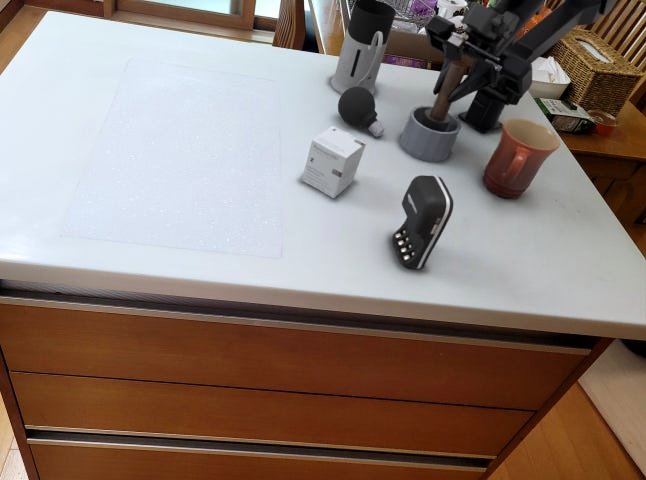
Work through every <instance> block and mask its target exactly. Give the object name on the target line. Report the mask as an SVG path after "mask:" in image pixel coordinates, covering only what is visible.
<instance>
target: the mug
mask: <svg viewBox="0 0 646 480" xmlns="http://www.w3.org/2000/svg"><path fill="white" fill-rule="evenodd" d="M502 124H503V127H502V130H501V135H500V139H499V142H498V144H497V146H496V148H495V149H494V150H493V153H492V154H491V156H490V158H489V160H488V161H487V164H486V165H485V168H484V171H483V173H482V178H481V179H482V183H483V185H484V186H485V188H486V189H487V190H488V191H489V192H490V193H492V194H494V195H495V196H498V197H501V198H504V199H514V198H519V197H521V196H522V195H523V194H524V193H525V192H526V191H527V189H528V188H529V187H531V184H532V183H533V181H534V179H535V177H536V175H538V172H539V170H540V168H541V167H542V165H543V164H544V162H545V161H546V160H547V159H548V158H549V157H550V156H551V155H552V154H553V153H554V152H555V151H557V150H558V149H559V147H560V145H561V141H560V139H559V137H558V136H557V135H556V133H555V132H554V131H552V130H551V129H549V128H548V127H547V126H546V125H545V126H544V125H543V124H541V123H539V122H536V121H533V120H530V119H527V118H520V117H514V118H508V119H507V120H505V121H504V122H503V123H502Z"/></svg>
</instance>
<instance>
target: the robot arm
mask: <svg viewBox="0 0 646 480" xmlns="http://www.w3.org/2000/svg"><path fill="white" fill-rule="evenodd" d="M616 3H617V0H562V2H561V3H560V4H559V5H558V6H557V7H556V8H554V9H553V10H552V11H550V12H549V13H548V14H547V15H546V16H545V17H543V18H542V19H541V20H540V21H539V22H537V23H536V24H535V25H534V26H533V27H531V28H530V29H529V30H527V31H526V32H525V33H524V34H523V35H521V36H520V37H519V38H518V35H519V34H520V33H521V32H522V31H523V29H524V28H525V27H526V26H527V25H528V24H529V22H530V21H531V20H532V19H533V17H534V16H539V15H540V14H541V12H542V10H543V5H544V4H545V0H498V1H497V2H496V3H495V4H494V6H492V5H489V6H485V5H483V4H482V3H479V2H477V1H473V2H472V3H471V4H470V6H469V8H468V9H467V11H466V13H465V14H464V16H463V18H462V19H461V21H460V23H461V24H462V25H463V24H464V25H465V26H467V27H466V28H465V30H464V33H465V35H466V36H467V38H465V37H464V36H462V35H460V34H459V33H458V32H457V28H456V23H454V22H452V21H450V20H449V19H446V18H444V17H443V16H441V15H434V16H432V17H431V18H430V19H429V20H428V21H427V22H426V24H425V25H424V27H423V28H424V31H425V34H426V39H427V42H428V45H429V46H430V47H431V49H433V50H436V51H437V52H439V53H441V54H443V55H444V60H443V64H442V67H441V70H440V73H439V75H438V77H437V80H436V83H435V84H434V87H433V90H432V93H433V95H434V96H437V95H438V93H439V91H440V88H441V86H442V83H443V81H444V78H445V76H446V73H447V71H448V68H449V66H450V64H451V61H452V60H460V61H462V59H463V58H464V57H465V56H466V57H469V58H470V59H472V60H474V61H475V63H474V64H473V68H472V70H471V71H470V73H468V75H467V76H466V77H465V78H463V79H462V81H461V83H460V85H459V86H458V87H457V88H456V89H455V90H454V91H453V93H452V94H451V95H450V97H449V98H448V100H447V101H448V103H449V104H451V103H452V104H453V103H455V102H457V101H459V100H461V99H463V98H465V97H467V96H468V95H471V94H473V93H475V95H474V96H473V99H472V100H471V103H470V105H469V107H468V109H467V110H466V111H463V112H459V113H458V114H457V118H459V119H461V120H462V121H464V122H465V123H466V124H468V125H469V126H471V127H472V128H474V129H475V130H476V131H478V132H479V133H481V134H485V133H489V132H492V131H494V130H497V129H498V130H499V129H501V128H502V129H503V124H504V123H502V122H500V121H499V119H500V117H501V114H502V112H503V111H504V109H505V108H506V106H507V107H508V106H510V105H512V106H517V105H518V104H519V102H520V100H521V99H522V98H523V97H524V95H525V94H526V93H527V92H528V91H529V89H530V88H531V86H532V85H533V63H534V62H535V61H536V60H537V59H539V58H540V57H541V56H542V55H544V54H545V52H547V51H548V50H549V49H551V48H552V47H553V46H554V45H556V43H558V42H559V41H560V40H561V39H562V38H564V37H565V36H566V35H567V34H568V33H570V32H571V31H572V30H573V29H574V28H576V27H578V26H588V25H593V24H594V23H595V22H597V21H599V20H600V19H602V17H603V16H604V17H605V16H607V15H608V14H609V13H610V12H611V11H612V9H613V8H614V6H615V4H616ZM452 104H451V105H452Z"/></svg>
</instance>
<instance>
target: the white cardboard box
mask: <svg viewBox="0 0 646 480" xmlns="http://www.w3.org/2000/svg"><path fill="white" fill-rule="evenodd" d="M366 146H367V142H365V141H363V140H361V139H359V138H357V137H355V135H353V134H351V133H349V132H347V131H344V130H342V129H340V128H338V127H336V126H335V125H331V126H330V127H328V128H327V129H326V130H324V131H323V132H322V133H320V134H319V135H317V136H315V137H314V138H313V139H311V144H310V148H309V151H308V155H307V159H306V162H305V165H304V170H303V173H302V177H301V181H302V182H304V183H306V184H307V185H309V186H311V187H312V188H315V189H317V190H318V191H320V192H322V193H323V194H325V195H327V196H328V197H330V198H332V199H335V198H336V197H337V196H339V194H341V193H342V192H343V191H344V190H346V188H348V187H349V186H350V185H351V184H352V183H353V182H354V179H355V176H356V174H357V170H358V168H359V165H360V163H361V160H362V157H363V154H364V151H365V148H366Z"/></svg>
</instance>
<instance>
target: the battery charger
mask: <svg viewBox="0 0 646 480" xmlns="http://www.w3.org/2000/svg"><path fill="white" fill-rule="evenodd" d="M401 206H402V209H403V210H404V213H405V215H406V218H405V220H404V222H403V224H402V225H401V226H400V227H399V228H398V229H397V230H395V232H394V233H393V234H392V236H391V240H392V243H393V246H394V249H395V252H396V254H397V257H398V259H399V261H400V263H401V264H402V265H403V266H404V267H407V268H412V269H423V268H425V266H426V263H427V262H428V259H429V258H430V256H431V254H432V253H433V250H434V248H435V246H436V245H437V243H438V242H439V240H440V237H441V236H442V235H443V234H442V233H443V232H444V230H445V229H446V226H447V225H448V222H449V220H450V218H451V216H452V214H453V210H454V198H453V197H452V195H451V193H450V190H449V188H448V187H447V185H446V183H445V181H444V179H443V178H442V177H440V176H438V175H435V174H432V175H426V174H425V175H424V174H422V175H417V176H415V177H414V178H413V179H412V180H411V182H410V183H409V185H408V187H407V189H406V191H405V194H404V196H403V199H402V201H401Z"/></svg>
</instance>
